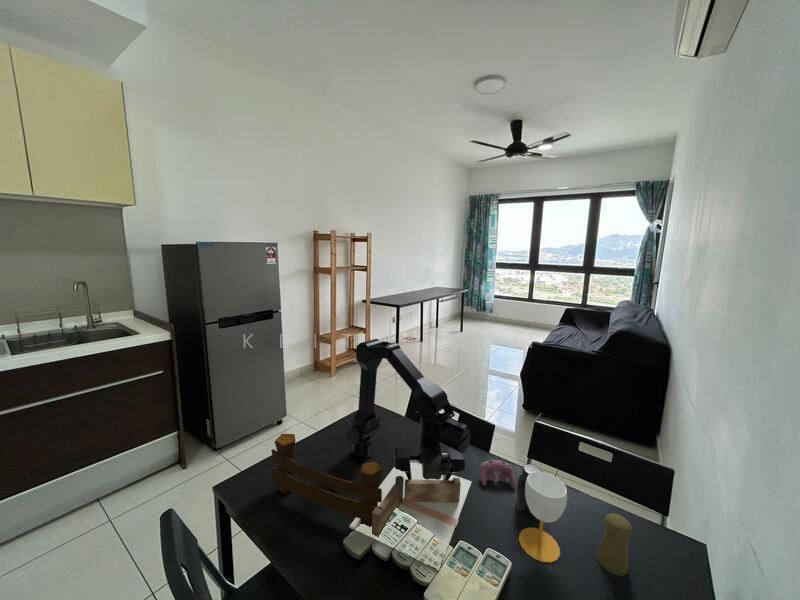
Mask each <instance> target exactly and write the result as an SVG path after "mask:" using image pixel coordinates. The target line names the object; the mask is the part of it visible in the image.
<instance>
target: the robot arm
mask: <svg viewBox="0 0 800 600" xmlns="http://www.w3.org/2000/svg"><path fill="white" fill-rule="evenodd" d="M355 352H356V353H355V354H356V358H355V359H356V362H357V363H358V366H360V367H359V368H360V379H359V383H360V384H359V392H358V393H359V394H358V410H357V411H356V413H355V415H354V417H353V418H352V422H351V428H350V429H348V431H346V432H345V433H344V436H345V441H348V443H349V452H348V454H346V457H347V458H350V459H353V460H355V461H357V462H360V463H364V462H366V460H367V459H368V458H369V457H370V456H371V455H372V454H373V453H374V450H373V443H372V436H374V435H375V434H376V432H377V431H378V430H379V428H381V427H380V426H381V425H380V421H381V420H380V419H381V417H380V416H379V415H377V413H376V412H375V403H376V402H375V400H376V388H377V374H378V372H377V371H378V368H379V366H380V364H381V363H382V361H383V359H384V360H386V361H387V362H388V363H389V364H390V366H391V367H392V368H393V369H394V370H395V372H396V373H397V374H398V375H399V376H400V378H401V379H402V380H403V382H405V384H406V385H407V386H408V388H409V389H410V390H411V392H412V397H413V400H414V402H415V404H416V406H417V407H418V408H419V409H418V410H417V411H415V412H414V413H413V414H414V416H415V417H417V418H419V419H420V425H419V427H420V428H419V445H418V453H410V447H396V448H395V449H394V467H395V469H397V470H400V471H403V472H405V473H406V475H407V478H408V479H409V480H412V477H411V466H410V463H419V464H422V475H423V478H424V479H436V480H439V479H441V476H442V475H443V480H449V478H450V477H451V475H453V474H455V473H456V474H457V473H460V472H464V471H465V469H466V459H465V455H464V454H463V453H465V452H466V451H467V449H468V447H469V445H470V442H471V438H472V437H471V436H472V435H471V432H470V430H468V425H467V424H465V423H461V422H458V421H457V420H454V419H452V418H453V417H455V415H456V414H455V412H454V410H453V407H452V405H451V403H450V402H449V399H448V398H449V397H448V394H447V393H446V391H445V390H444V389H443V388H441V387H440V386H439V385H438V384H437V383H435V382H433V381H431V380H429V379H427V378H426V377H425V376H424V375H423V374H422V372H421V371H420V370H419V369H418V368H417V366H416V365H415V364H414V363H413V362H412V361H411V359H410V358H409V357H408V356H407V355H406V353H404V351H403V350H402V349H401V346H400V344H399V343H396V342H389V341H382V340H381V339H378V338H373V339H370V340H369V339H368V340H366V341H363V342H359V343H358V344H357V345H356V349H355ZM442 410H443V411H444V412H442V413H441V414H438V413H439V412H441V411H442ZM442 445H444V446H446V447H448V448H447V450H446V453H443V452H442V451H441V450H442V448H441V447H442Z"/></svg>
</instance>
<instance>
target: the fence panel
mask: <svg viewBox="0 0 800 600" xmlns="http://www.w3.org/2000/svg"><path fill="white" fill-rule="evenodd" d="M460 486H461V482H460V479H459V478H453V480H409V479H405V490H404V501H430V502H459V499H460Z"/></svg>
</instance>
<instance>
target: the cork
mask: <svg viewBox="0 0 800 600" xmlns="http://www.w3.org/2000/svg"><path fill="white" fill-rule="evenodd" d="M603 526H604V528H605V530H604V531H603V535H602V538H601V541H600V543H599V546H598V548H597V551H596V555H595V557H596V559H597V562H598V563H599V565H600V566H601V567H602V568H603V569H605V570H606V571H607V572H609V573H610V574H613V575H616V576H621V577H623V576H625V575H627V574H628V572H629V540H630V539H631V537H632V536H633V527H632V525H631V523H630V522H629V521H628V519H627V518H625V517H624V516H622V515H620V514H618V513H613V512H611V513H607V515H605V517H604V519H603Z"/></svg>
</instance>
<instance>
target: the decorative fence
mask: <svg viewBox="0 0 800 600" xmlns="http://www.w3.org/2000/svg"><path fill="white" fill-rule="evenodd" d="M274 444H275V448H276V450H275V449H273V448H272V449H271V458H272V459H271V460H272V462H274V463H275V464H277V465H278V468H277V467H275V466H273V467H272V470H271V471H272V473H271V482H273V483H274V484H276V485H277V487H276V490H277V491H279V492H280V493H282V494H283V495H286V494H287V493H289V492H290V493H292V494H293V495H295V496H298V497H300V498H303V499H306V500H307V501H309V502H312V503H315V504H317V505H320V506H322V507H325V508H327V509H330V510H332V511H334V512H337V513H340V514H344V515H348V516H351V517H354V518H360V519H361V522H360V524H365V525H367V526H369V527H371V526H372V512H373V511H374V509H375V508H376V507H378V502H380V503H381V501H382V489H380V488H379V486H380V482H381V481H380V480H381V477H382V473H383V470H384V469H383V467H382V466H381V464H379V463H378V462H377V461H369V462H365V463H364V462H362V464H361V466H360V467H361V468H360V470H359V475H360V480H361V483H360V482H356V481H351V480H348V479H343V478H339V477H338V476H335V475H331V474H330V473H327V472H324V471H321V470H318V469H316V468H312V467H309V466H307V465H303V464H301V463H299V462H297V461H296V460H294V458H293V453H294V451H295V445H296V435H295V433H281V434H280V435H279V436H278V437H277V438H276V439H275V440H274ZM294 474H295V475H296V476H298V477H300V478H303V479H306V480H308V481H311V482H314V483H316V484H318V485H321V486H324V487H326V488H329V489H331V490H334V491H337V492H339V493H343V494H346V495H351V496H353V497H358V498H362V500H361V501H360V500H357V499H354V498H351V497H346V496H342V495H338V494H337V493H333V492H331V491H329V490H326V489H323V488H321V487H319V486H316V485H314V484H311V483H308V482H305V481H302V480H300V479H298V478H297V477H295V476H294ZM378 508H380V509H382V510H383V508H382V507H378Z"/></svg>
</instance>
